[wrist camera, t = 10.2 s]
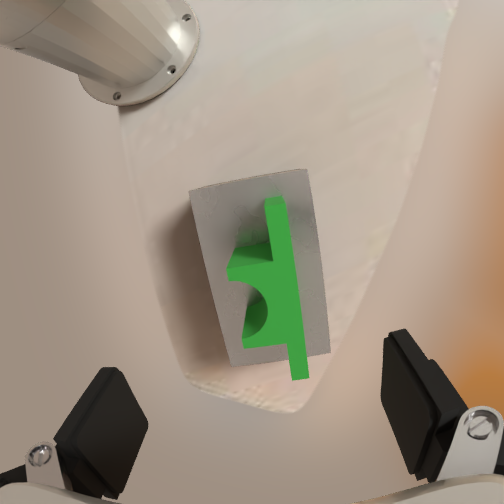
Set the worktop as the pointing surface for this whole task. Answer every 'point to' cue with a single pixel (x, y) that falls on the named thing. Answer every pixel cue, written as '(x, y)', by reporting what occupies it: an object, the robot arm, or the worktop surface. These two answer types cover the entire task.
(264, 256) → the pipe clamp
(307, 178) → the gray rectangular block
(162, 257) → the worktop surface
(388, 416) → the robot arm
